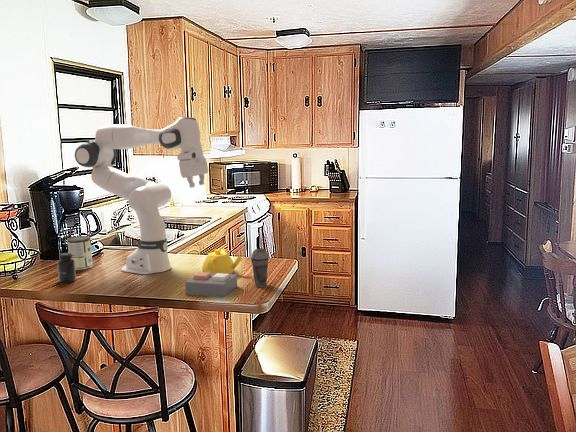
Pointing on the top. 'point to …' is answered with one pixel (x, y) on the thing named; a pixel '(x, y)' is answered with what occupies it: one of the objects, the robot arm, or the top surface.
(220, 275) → the white key
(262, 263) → the beverage cup
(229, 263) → the teapot
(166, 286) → the top surface
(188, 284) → the key console
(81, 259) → the coffee can
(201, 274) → the terracotta key
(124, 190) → the robot arm
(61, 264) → the supplement bottle
